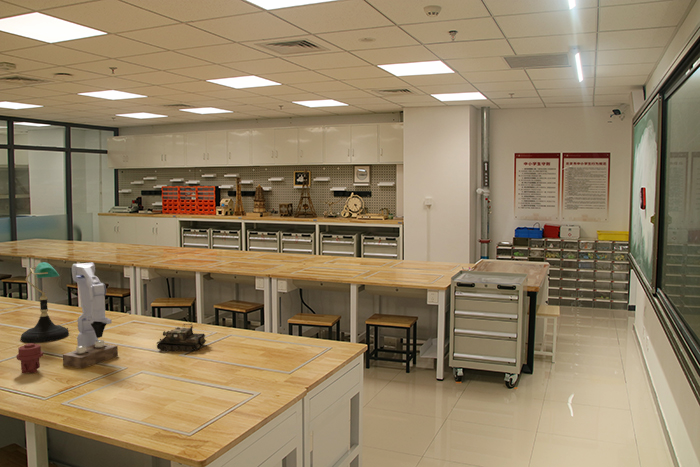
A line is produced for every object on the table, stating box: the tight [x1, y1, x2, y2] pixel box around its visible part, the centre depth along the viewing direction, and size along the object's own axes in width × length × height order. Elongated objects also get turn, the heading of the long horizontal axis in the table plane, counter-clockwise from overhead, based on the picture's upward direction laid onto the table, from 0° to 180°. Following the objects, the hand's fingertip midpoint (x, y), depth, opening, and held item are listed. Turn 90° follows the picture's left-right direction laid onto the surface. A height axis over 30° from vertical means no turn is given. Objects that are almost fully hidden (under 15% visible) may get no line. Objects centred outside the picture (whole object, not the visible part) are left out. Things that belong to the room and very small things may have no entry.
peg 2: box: [95, 339, 105, 349], centre depth 249 cm, size 4×4×5 cm
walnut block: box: [62, 343, 119, 370], centre depth 245 cm, size 12×20×5 cm, turn 156°
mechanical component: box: [15, 343, 44, 374], centre depth 229 cm, size 12×10×10 cm
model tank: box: [156, 323, 207, 353], centre depth 265 cm, size 13×22×15 cm, turn 86°
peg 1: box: [75, 345, 86, 355], centre depth 240 cm, size 4×4×5 cm
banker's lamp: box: [20, 262, 70, 344], centre depth 283 cm, size 26×23×40 cm
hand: (99, 337), depth 249 cm, fingers closed
